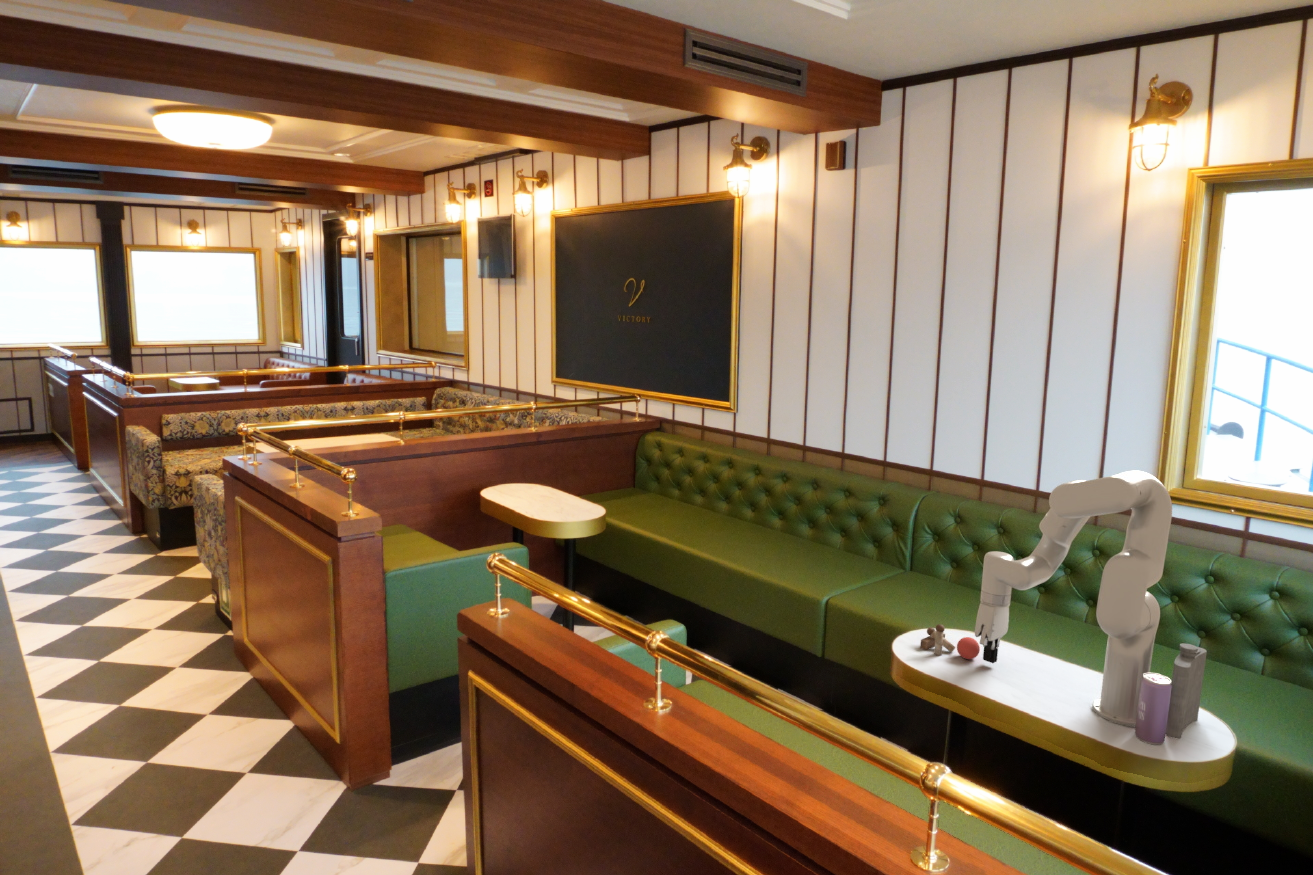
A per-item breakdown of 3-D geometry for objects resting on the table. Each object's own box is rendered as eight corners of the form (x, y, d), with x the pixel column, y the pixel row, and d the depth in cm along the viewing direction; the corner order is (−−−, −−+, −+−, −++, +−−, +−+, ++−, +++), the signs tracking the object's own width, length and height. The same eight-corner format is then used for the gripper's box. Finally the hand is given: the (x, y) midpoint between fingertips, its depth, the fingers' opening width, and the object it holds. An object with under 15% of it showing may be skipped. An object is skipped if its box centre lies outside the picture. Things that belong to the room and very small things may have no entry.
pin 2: (956, 646, 233) (931, 625, 238) (954, 646, 231) (929, 625, 236) (951, 652, 234) (926, 631, 239) (949, 652, 232) (924, 631, 237)
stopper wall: (944, 641, 240) (945, 633, 240) (926, 650, 234) (927, 641, 234) (938, 639, 242) (939, 631, 241) (920, 647, 236) (920, 639, 235)
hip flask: (1178, 739, 188) (1189, 658, 184) (1158, 732, 190) (1169, 652, 187) (1199, 717, 198) (1209, 639, 195) (1180, 711, 201) (1190, 634, 198)
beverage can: (1170, 746, 185) (1178, 684, 182) (1143, 745, 185) (1151, 683, 182) (1154, 732, 191) (1162, 672, 188) (1129, 731, 191) (1136, 671, 188)
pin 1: (942, 652, 232) (944, 623, 231) (942, 656, 230) (945, 626, 229) (933, 651, 233) (935, 622, 232) (933, 655, 231) (936, 625, 229)
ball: (971, 632, 232) (976, 653, 232) (951, 637, 232) (955, 657, 232) (980, 637, 226) (985, 658, 226) (959, 642, 226) (964, 663, 226)
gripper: (996, 587, 229) (990, 649, 232) (968, 599, 219) (962, 663, 222) (1022, 595, 223) (1016, 658, 226) (994, 607, 214) (988, 673, 217)
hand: (989, 660), depth 224 cm, fingers closed
